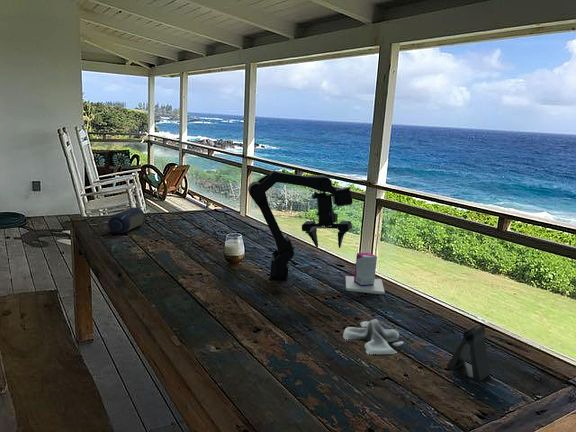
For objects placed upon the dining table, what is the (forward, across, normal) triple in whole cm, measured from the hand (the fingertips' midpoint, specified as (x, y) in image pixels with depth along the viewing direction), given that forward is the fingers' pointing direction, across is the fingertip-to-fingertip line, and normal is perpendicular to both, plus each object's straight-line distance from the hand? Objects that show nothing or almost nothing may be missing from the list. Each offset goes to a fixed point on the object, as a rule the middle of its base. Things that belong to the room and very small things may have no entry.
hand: (328, 247), depth 183 cm
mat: (+15, -14, +2) cm, 20 cm away
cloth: (+14, -27, +42) cm, 52 cm away
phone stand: (+16, -52, +50) cm, 74 cm away
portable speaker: (-2, +111, -15) cm, 112 cm away
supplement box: (+14, -13, +2) cm, 19 cm away
